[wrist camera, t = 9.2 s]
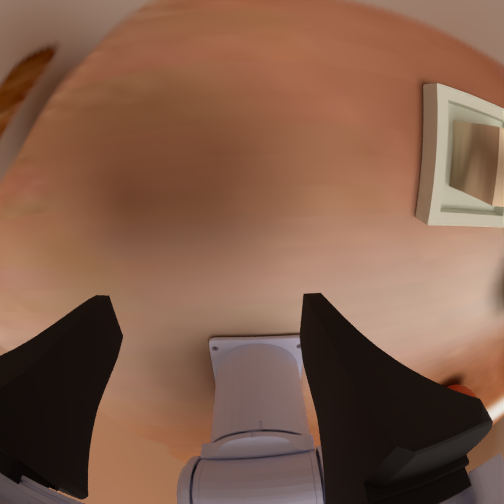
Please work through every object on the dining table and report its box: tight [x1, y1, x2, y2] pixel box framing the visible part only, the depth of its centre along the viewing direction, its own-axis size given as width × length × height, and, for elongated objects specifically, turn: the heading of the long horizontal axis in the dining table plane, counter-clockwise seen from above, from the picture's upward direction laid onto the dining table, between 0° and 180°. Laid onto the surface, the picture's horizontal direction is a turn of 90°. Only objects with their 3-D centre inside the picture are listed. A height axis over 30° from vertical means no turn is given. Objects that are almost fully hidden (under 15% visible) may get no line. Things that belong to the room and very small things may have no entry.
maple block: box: [449, 121, 504, 207], centre depth 14 cm, size 5×5×5 cm
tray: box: [415, 83, 504, 227], centre depth 16 cm, size 10×10×2 cm
